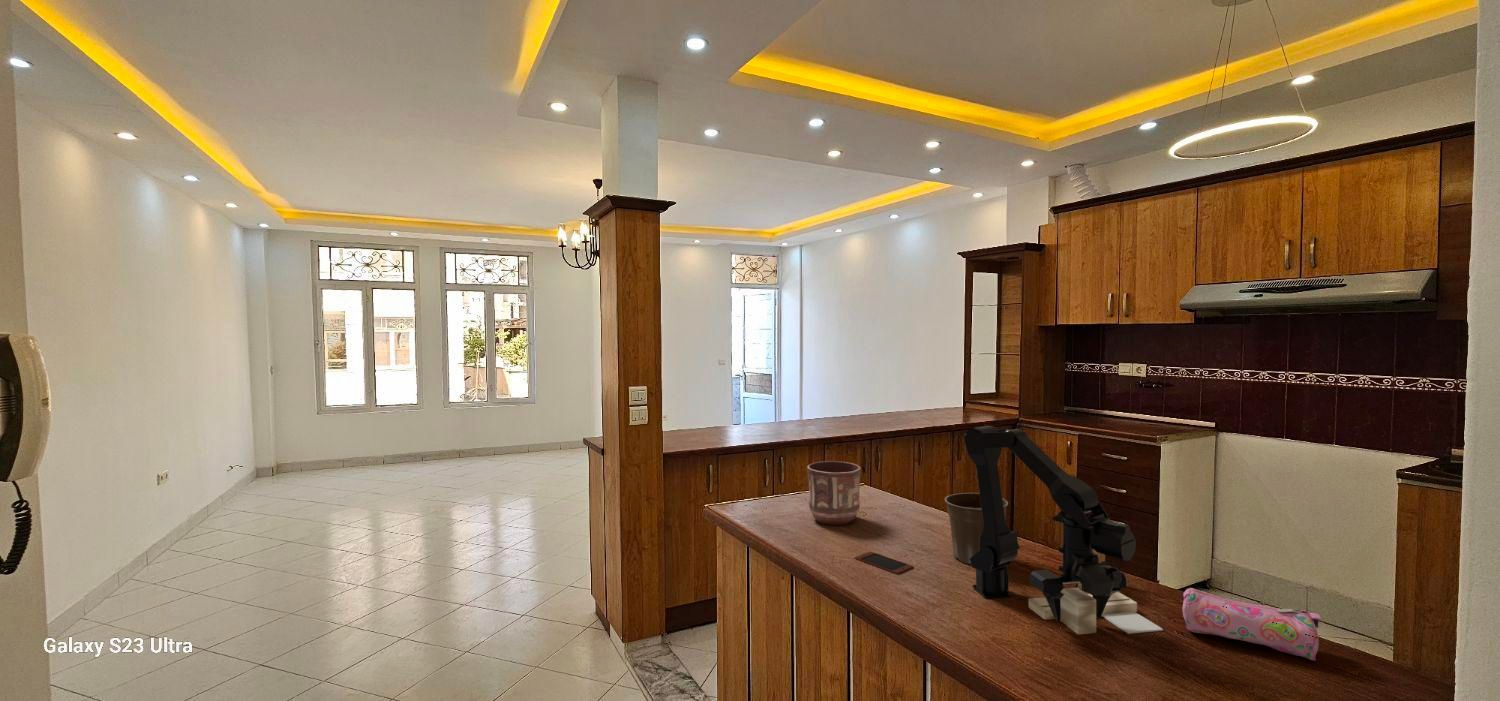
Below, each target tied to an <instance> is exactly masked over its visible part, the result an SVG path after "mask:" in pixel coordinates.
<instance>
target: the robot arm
mask: <svg viewBox="0 0 1500 701" xmlns="http://www.w3.org/2000/svg"><path fill="white" fill-rule="evenodd" d="M963 442H964V445H965V449H966V454H967V455H968V456H969V458H970V459H971V461H972V462H973V464H974V465H975V466H974V467H975V470H976V471H975V472H976V478H977V484H978V493H980V500H981V508H982V515H983V522H984V527H983V530H982V533H981V536H980V551H979V552H977V553H976V554H975V555H973V556H972V557H971V558H970V561H971V568H973V569H975V584H972V588H973V589H974V590H975V591H977V593H979V594H980V595H981V596H983V597H984V598H985V599H989V598H1001V597H1002V598H1004V597H1012V595H1011V594H1012V593H1010V592H1009V589H1010V588H1009V586H1010V584H1009V582H1010V581H1009V580H1010V577H1009V573H1008V567H1009V566H1011V565H1012V562H1013V561H1014V560H1015V558H1016V557H1018V554H1019V552H1018V551H1019V550H1021V547H1020V546H1019V541H1018V533H1017V531H1011V529H1010V528H1009V526H1008V525H1007V523H1006V522H1007V520H1006V514H1005V515H1004V508H1003V501H1002V498H1003V495H1002V488H1001V487H1002V486H1001V481H1000V475H999V467H998V463H999V459H1000V456H1001V453H1002V448H1007V449H1009V450H1010V451H1011V452H1012V453H1013V454H1014V455H1015V456H1016V457H1017V458H1018V459H1019V460H1020V461H1021V462H1022V463H1023V464H1024V465H1025V466H1027V468H1028V469H1029V470H1030V471H1031V472H1032V473H1033V474H1034V475H1035V476H1036V477H1037V478H1038V479H1039V480H1040V481H1041V482H1042V483H1043V484H1044V485H1045V486H1046V488H1047V489H1048V491H1049V495H1050V497H1051V499H1052V500H1053V501H1054V503H1055V505H1056V506H1057V507H1058V509H1060V511H1059V512H1058V514H1056V515H1054V516H1053V517H1052V520H1053V521H1054V522H1058V523H1062V546H1058V552H1059V553H1061V554H1062V565H1058V570H1059V571H1060V572H1061V573H1062V574H1055V573H1053V572H1052V571H1050V570H1049V569H1039V570H1032V571H1031V572H1030V574H1029V584H1031V586H1034V587H1035V588H1036V589H1038V591H1040V592H1042V594H1043V596H1044V597H1045V598H1046V600H1047V602H1048V604H1049V606H1050V609H1051V611H1052V613H1053V615H1054V618H1055V619H1054V620H1056V622H1061V621H1060V617H1061V603H1060V599H1061V598H1062V597H1063V596H1064V594H1063V593H1061V591H1062V590H1063V589H1064V585H1065V586H1067V585H1076V584H1079V583H1081V584H1082V585H1083V586H1084V587H1085V588H1086V590H1085V591H1086V592H1087V594H1091V595H1092V596H1093V598H1094V599H1096V619H1097V618H1098V619H1100V618H1101V617H1102V616H1101V615H1102V613H1103V611H1104V608H1105V606H1106V604H1107V602H1108V600H1109V598H1110V596H1111V595H1112V594H1114V593H1116V592H1119V593H1120V592H1121V591H1122V589H1124V588H1125V589H1127V587H1128V578H1127V576H1126V575H1125V573H1124V572H1122V571H1121V570H1120V569H1119V568H1118V567H1117V566H1115V567H1114V566H1111V565H1110V564H1108V565H1107V564H1106V565H1105V566H1100V565H1099V558H1098V555H1097V554H1095V553H1093V549H1094V550H1095V551H1096V552H1098V553H1101V554H1105V556H1109V557H1112V558H1116V559H1118V560H1123V561H1126V562H1127V561H1130V560H1131V559H1132V558H1133V556H1134V555H1135V553H1136V547H1137V540H1136V539H1135V535H1134V534H1133V531H1131V526H1130V524H1126V523H1118V522H1113V521H1110V520H1111V518H1110V516H1109V514H1108V513H1107V511H1106V509H1105V507H1104V506H1103V505H1102V503H1101V502H1100V500H1099V495H1098V493H1097V491H1096V490H1095V489H1094V488H1093V487H1092V486H1090V485H1089V484H1087V483H1086V482H1084V481H1083V480H1082V479H1080V478H1077V477H1076V476H1074V475H1071V474H1069V473H1068V472H1066V471H1064V469H1062V468H1061V467H1060V465H1058V464H1057V463H1056V462H1055V461H1054V460H1053V459H1051V457H1050V456H1048V455H1047V454H1046V453H1045V451H1044V450H1042V449H1041V448H1040V447H1039V446H1038V445H1037V444H1036V443H1035V442H1034V441H1033V440H1031V438H1030V437H1029V436H1028V434H1027V433H1026V432H1025V431H1024V430H1022V429H1020V428H1015V429H997V428H996V427H994V426H993V425H985V426H977V427H973V428H969V429H967V431H966V432H965V434H964V436H963ZM1087 513H1092V514H1090V515H1086V514H1087Z"/></svg>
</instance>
